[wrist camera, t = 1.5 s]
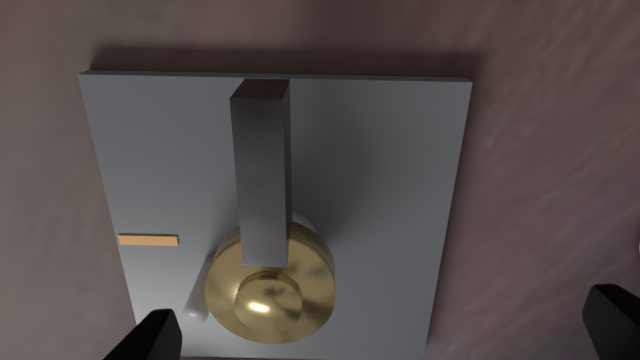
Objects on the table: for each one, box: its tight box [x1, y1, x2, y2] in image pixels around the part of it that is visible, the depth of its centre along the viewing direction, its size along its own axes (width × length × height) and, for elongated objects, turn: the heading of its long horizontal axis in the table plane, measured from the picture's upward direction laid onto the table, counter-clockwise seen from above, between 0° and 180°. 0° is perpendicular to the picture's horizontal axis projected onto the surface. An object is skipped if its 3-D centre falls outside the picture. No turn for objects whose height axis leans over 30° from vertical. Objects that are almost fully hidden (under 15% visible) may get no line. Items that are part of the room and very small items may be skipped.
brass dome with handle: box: [204, 78, 336, 344], centre depth 18 cm, size 6×12×3 cm, turn 179°
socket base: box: [77, 70, 473, 360], centre depth 22 cm, size 18×18×5 cm
